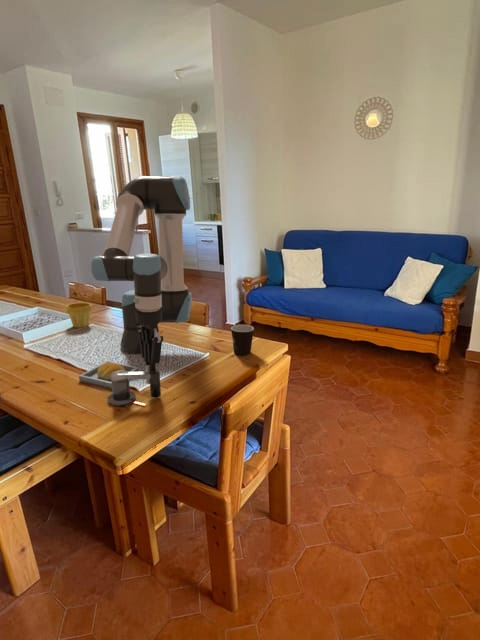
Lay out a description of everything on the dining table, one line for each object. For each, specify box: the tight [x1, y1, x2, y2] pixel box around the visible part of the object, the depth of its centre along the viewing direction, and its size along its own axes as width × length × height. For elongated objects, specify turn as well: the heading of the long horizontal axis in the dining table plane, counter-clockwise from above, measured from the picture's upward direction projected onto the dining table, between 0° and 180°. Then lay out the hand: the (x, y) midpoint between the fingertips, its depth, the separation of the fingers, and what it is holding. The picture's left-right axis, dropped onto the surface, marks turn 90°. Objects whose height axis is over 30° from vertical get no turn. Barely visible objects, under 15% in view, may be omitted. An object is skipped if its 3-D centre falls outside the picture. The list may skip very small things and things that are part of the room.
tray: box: [78, 360, 140, 390], centre depth 138 cm, size 14×14×2 cm
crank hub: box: [107, 380, 147, 408], centre depth 121 cm, size 12×8×7 cm, turn 66°
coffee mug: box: [230, 324, 255, 357], centre depth 159 cm, size 12×9×10 cm
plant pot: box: [66, 302, 92, 329], centre depth 189 cm, size 10×10×10 cm
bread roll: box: [97, 362, 125, 380], centre depth 137 cm, size 8×9×4 cm
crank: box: [111, 369, 162, 399], centre depth 122 cm, size 14×5×8 cm, turn 96°
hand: (151, 382), depth 126 cm, fingers closed
